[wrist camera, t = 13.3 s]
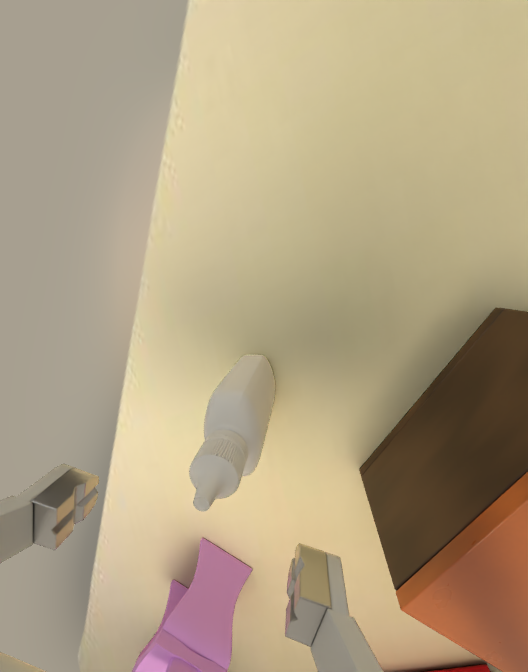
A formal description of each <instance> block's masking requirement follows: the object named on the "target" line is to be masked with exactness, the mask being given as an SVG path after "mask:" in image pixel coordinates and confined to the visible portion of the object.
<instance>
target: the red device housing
mask: <svg viewBox="0 0 528 672" xmlns="http://www.w3.org/2000/svg"><path fill="white" fill-rule="evenodd" d="M426 672H491V671H490V669H489V668H488V666H487V664H485V665H476V666H468V667H459V668H451V669H443V670H434V671H426Z"/></svg>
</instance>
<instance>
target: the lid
mask: <svg viewBox="0 0 528 672" xmlns="http://www.w3.org/2000/svg"><path fill="white" fill-rule="evenodd" d="M396 595H397V598H398V602H399V605H400V608H401V610H402V611H404V612H405V613H407V614H408V615H410V616H412V617H413V618H415V619H417V620H418V621H420V622H422V623H423V624H425V625H427V626H428V627H430V628H432V629H433V630H435V631H436V632H438V633H440V634H441V635H443V636H445V637H446V638H448V639H450V640H451V641H453V642H455V643H456V644H458V645H460V646H461V647H463V648H465V649H466V650H468V651H469V652H471V653H473V654H474V655H476V656H478V657H479V658H481V659H483V660H484V661H486V662H488V663H489V664H491V665H493V666H494V667H496V668H498V669H499V670H501V671H502V672H528V472H527V473H526V474H524V475H523V476H522V477H521V478H520V479H519V480H518V481H517V482H516V483H515V484H513V485H512V486H511V487H510V488H509V489H508V490H507V491H506V492H505V493H504V494H502V495H501V496H500V497H499V498H498V499H497V500H496V501H495V502H494V503H493V504H491V505H490V506H489V507H488V508H487V509H486V510H485V511H484V512H483V513H482V514H480V515H479V516H478V517H477V518H476V519H475V520H474V521H473V522H472V523H471V524H470V525H468V526H467V527H466V528H465V529H464V530H463V531H462V532H461V533H460V534H459V535H457V536H456V537H455V538H454V539H453V540H452V541H451V542H450V543H449V544H448V545H446V546H445V547H444V548H443V549H442V550H441V551H440V552H439V553H438V554H437V555H435V556H434V557H433V558H432V559H431V560H430V561H429V562H428V563H427V564H426V565H424V566H423V567H422V568H421V569H420V570H419V571H418V572H417V573H416V574H415V575H413V576H412V577H411V578H410V579H409V580H408V581H407V582H406V583H405V584H404V585H402V586H401V587H400V588H399V589H398V590H397V591H396Z"/></svg>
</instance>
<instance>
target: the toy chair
mask: <svg viewBox="0 0 528 672" xmlns="http://www.w3.org/2000/svg"><path fill="white" fill-rule="evenodd" d="M251 572H252V568H250V567H249V566H247V565H246V564H244V563H242V562H241V561H239V560H238V559H236V558H235V557H233V556H231V555H230V554H228V553H227V552H225V551H223V550H222V549H220V548H219V547H217V546H216V545H214V544H212V543H211V542H209V541H208V540H206V539H204V538H202V539H201V541H200V549H199V557H198V563H197V568H196V572H195V575H194V578H193V581H192V583H191V585H190V587H189V589H188V588H186V587H185V586H183V585H182V584H180V583H178V582H177V581H175V580H172V582H171V586H170V592H169V598H168V603H167V607H166V610H165V614H164V617H163V620H162V623H161V625H160V627H159V629H158V630H157V632H156V634H155V635H154V637H153V638H152V639H151V640H150V642H149V643H148V644H147V645H146V647H145V648H144V649H143V650H142V652H141V653H140V655H139V656H138V658H137V661H136V663H135V666H134V668H133V670H132V672H227V669H228V667H229V664H230V661H231V653H232V623H233V613H234V608H235V604H236V601H237V598H238V595H239V593H240V591H241V589H242V587H243V585H244V583H245V581H246V580H247V578H248V576H249V575H250V573H251Z"/></svg>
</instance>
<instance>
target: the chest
mask: <svg viewBox="0 0 528 672" xmlns="http://www.w3.org/2000/svg"><path fill="white" fill-rule="evenodd" d="M527 472H528V312H526V311H519V310H511V309H504V308H495V309H494V310H493V312H492V313H491V314H490V315H489V316H488V318H487V319H486V320H485V321H484V322H483V323H482V325H481V326H480V327H479V328H478V329H477V331H476V332H475V333H474V334H473V335H472V337H471V338H470V339H469V340H468V341H467V342H466V344H465V345H464V346H463V347H462V348H461V350H460V351H459V352H458V353H457V354H456V356H455V357H454V358H453V359H452V360H451V361H450V363H449V364H448V365H447V366H446V367H445V369H444V370H443V371H442V372H441V373H440V374H439V376H438V377H437V378H436V379H435V380H434V382H433V383H432V384H431V385H430V386H429V388H428V389H427V390H426V391H425V392H424V393H423V395H422V396H421V397H420V398H419V399H418V401H417V402H416V403H415V404H414V405H413V407H412V408H411V409H410V410H409V411H408V412H407V414H406V415H405V416H404V417H403V418H402V420H401V421H400V422H399V423H398V424H397V426H396V427H395V428H394V429H393V430H392V431H391V433H390V434H389V435H388V436H387V437H386V439H385V440H384V441H383V442H382V443H381V444H380V446H379V447H378V448H377V449H376V450H375V452H374V453H373V454H372V455H371V456H370V458H369V459H368V460H367V461H366V462H365V463H364V465H363V466H362V467H361V468H360V474H361V476H362V481H363V484H364V487H365V491H366V494H367V497H368V501H369V504H370V507H371V511H372V514H373V517H374V521H375V524H376V527H377V531H378V534H379V538H380V541H381V544H382V548H383V551H384V554H385V558H386V561H387V564H388V568H389V571H390V574H391V578H392V581H393V584H394V588H395V590H398V589H399V588H400V587H401V586H402V585H404V584H405V583H406V582H407V581H408V580H409V579H410V578H411V577H412V576H413V575H415V574H416V573H417V572H418V571H419V570H420V569H421V568H422V567H423V566H424V565H426V564H427V563H428V562H429V561H430V560H431V559H432V558H433V557H434V556H435V555H437V554H438V553H439V552H440V551H441V550H442V549H443V548H444V547H445V546H446V545H448V544H449V543H450V542H451V541H452V540H453V539H454V538H455V537H456V536H457V535H459V534H460V533H461V532H462V531H463V530H464V529H465V528H466V527H467V526H468V525H470V524H471V523H472V522H473V521H474V520H475V519H476V518H477V517H478V516H479V515H480V514H482V513H483V512H484V511H485V510H486V509H487V508H488V507H489V506H490V505H491V504H493V503H494V502H495V501H496V500H497V499H498V498H499V497H500V496H501V495H502V494H504V493H505V492H506V491H507V490H508V489H509V488H510V487H511V486H512V485H513V484H515V483H516V482H517V481H518V480H519V479H520V478H521V477H522V476H523V475H524V474H526V473H527Z"/></svg>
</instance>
